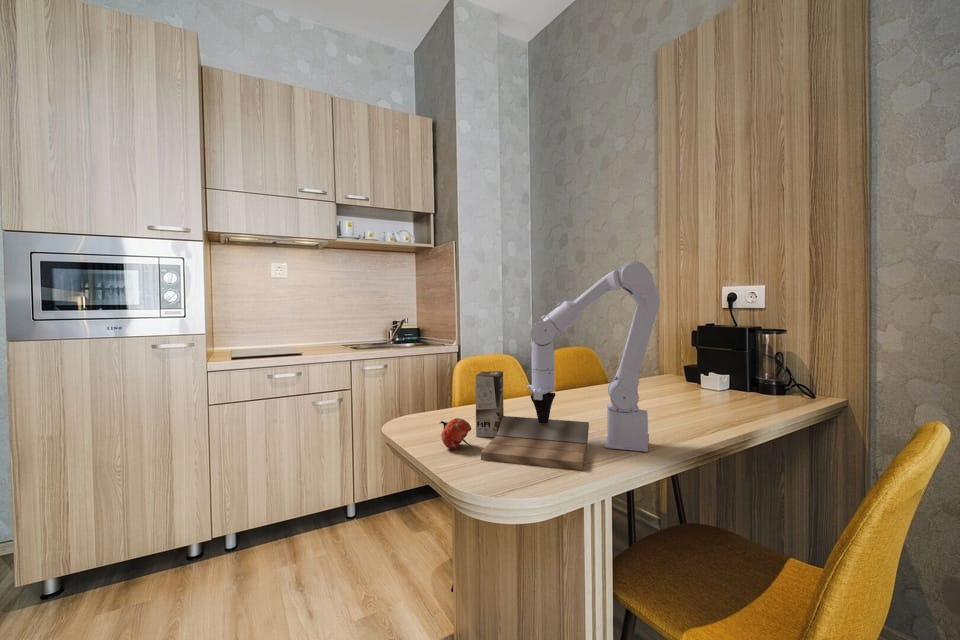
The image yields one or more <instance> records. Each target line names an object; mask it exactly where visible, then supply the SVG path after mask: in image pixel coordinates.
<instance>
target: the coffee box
mask: <svg viewBox="0 0 960 640" xmlns="http://www.w3.org/2000/svg"><path fill="white" fill-rule="evenodd" d="M474 378H475V436H476V437H480V438H482V437H483V438H493V439H494V438H495V437H496V436H497V432H498V429H499V426H500V423H501V420H502V417H503V416H505V413H504V371H501V370H500V371H499V370H493V371H492V370H491V371H484V370H483V371H480V372H479V373H478V374H476V375H475V377H474Z"/></svg>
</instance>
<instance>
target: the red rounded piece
mask: <svg viewBox="0 0 960 640" xmlns="http://www.w3.org/2000/svg"><path fill="white" fill-rule="evenodd" d="M439 424H440V425H441V424H442V425H443V430H442V431H441V434H440V438H441V442H442V443H443V445H444V446H445V447H446V448H447V449H450V450H453V451H455V450H457V449H458V447H460V445H461V443H462V442H463V443H465V444H466V445H468V446H469V447H470V448H471V449H474V447H473V446H472V445H471V444H470V443H468V442H467V441H466V439H465V438H466V437H467V435H468V433H469V432H470V431H472V427H471V426H472V425H470V423H469V422H468V420H467V421H466V420H465V419H463V418H459V417H457V418H456V417H455V418H453V419H451V420H450V421H448V422H446V421H443V420H441V421H440V422H439Z"/></svg>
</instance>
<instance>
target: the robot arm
mask: <svg viewBox="0 0 960 640" xmlns="http://www.w3.org/2000/svg"><path fill="white" fill-rule="evenodd" d="M621 289H623V290H625V292H627V293H629V295H630V296H631V298H632V300H633V302H634V303H635V304H636V307H635V310H634V314H633V316H632V321H631V325H630V328H629V331H628V336H627V339H626V342H625V346H624V349H623V352H622V356H621V360H620V364H619V367H618V369H617V371H616V374H615V377H614V379H612V380H611V382H610V383H609V384H608V387H607V393H608V396H609V398H610V402H609V404H607V407H606V409H607V410H606V417H607V421H606V422H607V423H606V424H607V427H606V428H607V429H606V431H607V435H606V438H605V443H604V444H605V445H604V448H606V449H614V450H624V451H626V450H627V451H636V452H645V453H647V452H648V451H649V442H650V433H649V421H648V420H649V418H648V416H649V415H648V410H647V409H640V407H639V406H638V403H639V400H640V397H639V392H638V389H639V388H638V387H639V385H640V373H641V369H642V366H643V362H644V359H645V356H646V353H647V349H648V348H647V347H648V345H649V342H650V338H651V334H652V331H653V326H654V324H655V320H656V317H657V313H658V310H659V307H660V302H661V299H660V296H659V292H658V290H657V287H656V284H655V281H654V276H653V273H652V272H651V270H650V269H649V268H648V267H647V266H646V265H645V264H644V263H643V262H641V261H639V260H630V261H628V262H626V263H624V264H623V265H622V266H621V267H618V268H616V269H614V270H613V271H611V272H609V273H607V274H606V275H604V276H603V277H602V278H600V279H599V280H597V281H596V282H595V283H594V284H593V285H591V286H590V287H589V288H587V289H586V290H585V291H584V292H583V293H582V294H580V295H579V296H578V297H576V299H574V300H573V301H571V300H564V301H563V302H561V301H559V302H558V303H557V304H556V307H555V308H554V309H553V310H552V311H550V312H549V313H548V314H546V315H545V314H544V315H542V316H541V320H540V321H536V322H535V323H534V324H533V326H532V327H531V328H530V339H531V340H532V341H531V347H532V348H531V349H532V350H531V384H527V386H526V388H527V389H528V390H531V391H532V392H533V393H532V394H530V400H531V401H532V403H533V405H534V408H535V412H536V418H538V421H539V423H547V422H548V420H549V419H550V414H551V409H552V405H553V401H554V399H555V397H556V393H555V392H554V391H555V390H556V387H557V386H555V384H556V381H555V380H556V377H555V375H556V374H555V373H556V369H555V362H556V360H555V355H556V354H555V350H554V338H555V337H556V335H561V334H562V333H563V332H565V331H566V330H567V329H569V328H570V327H571V326H573V325H575V324H576V322H578V321H579V320H580V319H581V314H582V313H581V312H582V311H583V310H584V309H586V308H587V307H589V306H590V305H591V304H592V303H594V302H596V300H598V299H600V298H601V297H602V296H604V295H605V294H607V293H608V292H613V291H618V290H621Z"/></svg>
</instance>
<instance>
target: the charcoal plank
mask: <svg viewBox="0 0 960 640" xmlns="http://www.w3.org/2000/svg"><path fill="white" fill-rule="evenodd" d="M589 429H590V422H589V421H579V420H578V421H577V420H563V419H552V418H549V420H548V422H547V423H539V421H538V418H537V417H523V416H522V417H521V416H509V415H508V416H507V415H504V416H503V417H502V420H501V423H500V426H499V429H498V432H497V436H501V437H512V438H524V439H535V440H546V441H557V442H569V443H580V444H587V445H588V441H589V432H590V431H589Z"/></svg>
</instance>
